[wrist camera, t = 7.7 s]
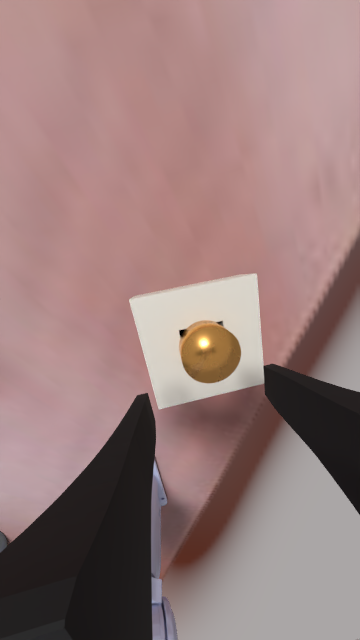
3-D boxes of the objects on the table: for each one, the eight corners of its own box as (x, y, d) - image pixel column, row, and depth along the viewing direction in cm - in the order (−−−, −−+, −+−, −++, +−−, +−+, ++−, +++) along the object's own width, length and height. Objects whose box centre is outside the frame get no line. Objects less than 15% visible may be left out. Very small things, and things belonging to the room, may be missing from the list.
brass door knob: (221, 348, 21) (244, 375, 15) (180, 358, 21) (188, 389, 15) (214, 308, 20) (237, 321, 14) (171, 318, 19) (176, 335, 14)
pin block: (248, 367, 22) (264, 383, 19) (159, 388, 21) (158, 409, 18) (239, 274, 19) (256, 273, 16) (134, 295, 18) (129, 299, 15)
